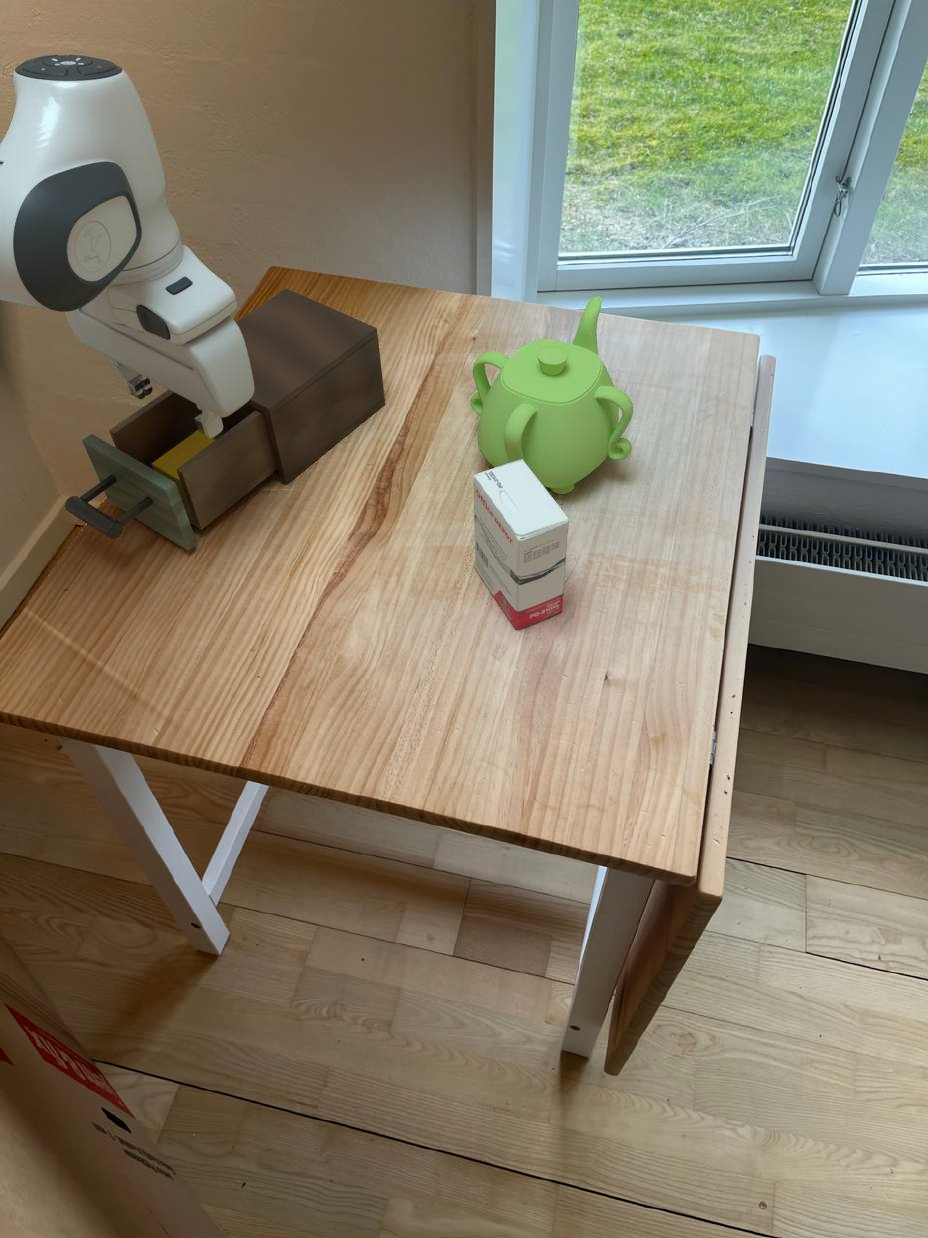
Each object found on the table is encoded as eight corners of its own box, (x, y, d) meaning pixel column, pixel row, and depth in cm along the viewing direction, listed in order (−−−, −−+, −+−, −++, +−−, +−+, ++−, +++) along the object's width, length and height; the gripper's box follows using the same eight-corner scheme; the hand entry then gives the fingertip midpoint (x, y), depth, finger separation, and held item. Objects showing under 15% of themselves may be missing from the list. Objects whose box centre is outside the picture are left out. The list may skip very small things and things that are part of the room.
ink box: (564, 612, 84) (573, 518, 75) (515, 632, 83) (517, 539, 74) (519, 549, 89) (522, 454, 80) (472, 567, 88) (469, 473, 79)
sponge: (187, 503, 91) (179, 480, 89) (159, 486, 93) (151, 463, 90) (232, 468, 94) (225, 445, 92) (204, 453, 96) (197, 429, 93)
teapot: (462, 413, 102) (458, 309, 92) (590, 394, 103) (600, 290, 93) (493, 517, 92) (492, 413, 82) (634, 495, 93) (650, 390, 83)
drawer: (144, 586, 86) (118, 525, 80) (64, 533, 91) (34, 472, 84) (294, 465, 96) (280, 403, 90) (215, 422, 100) (197, 361, 94)
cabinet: (286, 485, 95) (268, 409, 88) (199, 437, 100) (176, 361, 93) (385, 404, 103) (377, 327, 95) (300, 363, 108) (286, 287, 100)
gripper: (21, 252, 79) (75, 388, 90) (190, 336, 71) (228, 474, 82) (81, 221, 82) (127, 356, 93) (250, 297, 74) (278, 435, 85)
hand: (175, 412), depth 87 cm, fingers open, 8 cm apart
